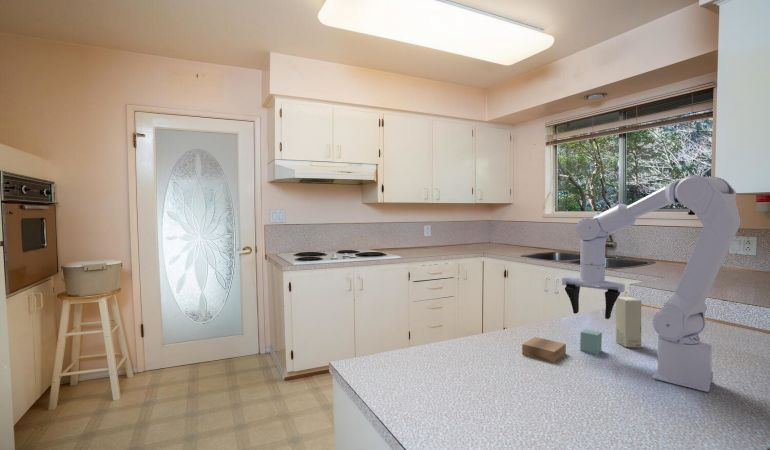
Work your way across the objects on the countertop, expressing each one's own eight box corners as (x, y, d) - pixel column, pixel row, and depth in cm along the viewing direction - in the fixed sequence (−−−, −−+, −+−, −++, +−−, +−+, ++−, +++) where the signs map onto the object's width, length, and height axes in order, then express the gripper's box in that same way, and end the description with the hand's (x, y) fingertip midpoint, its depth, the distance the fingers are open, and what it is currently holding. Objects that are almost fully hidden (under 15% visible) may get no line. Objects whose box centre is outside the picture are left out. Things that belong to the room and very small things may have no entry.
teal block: (601, 350, 102) (601, 332, 102) (596, 354, 99) (597, 335, 99) (585, 347, 105) (585, 328, 104) (580, 350, 102) (580, 332, 102)
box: (641, 348, 104) (643, 300, 103) (625, 348, 104) (626, 300, 103) (629, 341, 109) (630, 296, 109) (614, 341, 109) (615, 296, 109)
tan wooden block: (565, 355, 100) (565, 343, 99) (554, 364, 94) (554, 351, 94) (534, 347, 105) (535, 336, 105) (522, 355, 99) (522, 344, 99)
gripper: (628, 265, 99) (626, 317, 99) (568, 260, 109) (567, 308, 109) (621, 267, 94) (620, 323, 94) (559, 262, 104) (558, 312, 104)
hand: (591, 315), depth 102 cm, fingers open, 7 cm apart
